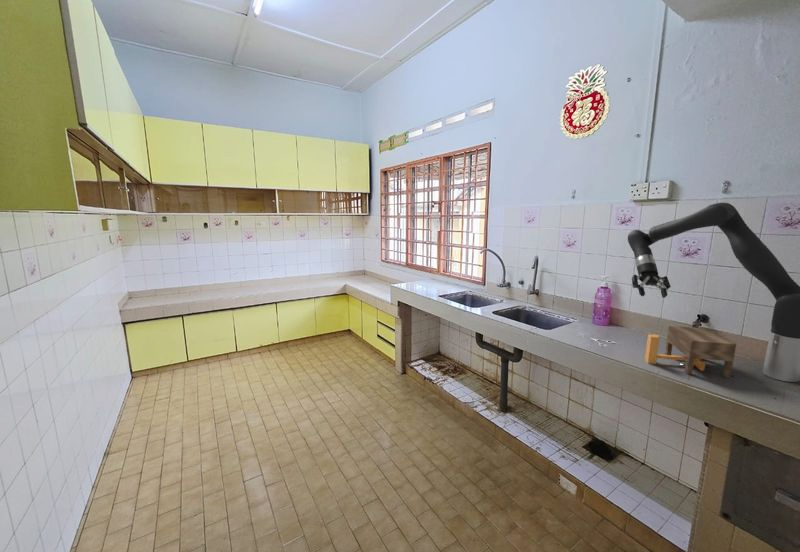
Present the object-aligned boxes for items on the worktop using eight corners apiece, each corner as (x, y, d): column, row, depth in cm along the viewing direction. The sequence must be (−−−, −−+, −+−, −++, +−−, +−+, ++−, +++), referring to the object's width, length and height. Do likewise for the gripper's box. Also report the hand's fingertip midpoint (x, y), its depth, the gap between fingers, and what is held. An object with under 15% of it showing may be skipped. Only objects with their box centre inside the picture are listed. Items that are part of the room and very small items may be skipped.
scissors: (608, 347, 157) (569, 334, 174) (607, 349, 157) (568, 336, 174) (620, 343, 162) (581, 331, 179) (620, 344, 162) (581, 332, 179)
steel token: (690, 364, 140) (690, 362, 140) (696, 369, 135) (697, 367, 135) (676, 362, 142) (676, 361, 141) (682, 368, 137) (682, 366, 137)
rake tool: (692, 362, 141) (697, 335, 139) (704, 370, 134) (708, 342, 131) (642, 357, 146) (645, 332, 144) (650, 365, 139) (654, 338, 136)
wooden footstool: (702, 358, 144) (707, 328, 142) (730, 378, 127) (736, 344, 125) (664, 355, 148) (668, 325, 145) (686, 374, 131) (691, 341, 128)
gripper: (633, 261, 155) (640, 291, 147) (667, 262, 152) (676, 293, 144) (626, 269, 161) (632, 298, 153) (659, 271, 159) (667, 301, 150)
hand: (653, 296), depth 149 cm, fingers open, 8 cm apart
